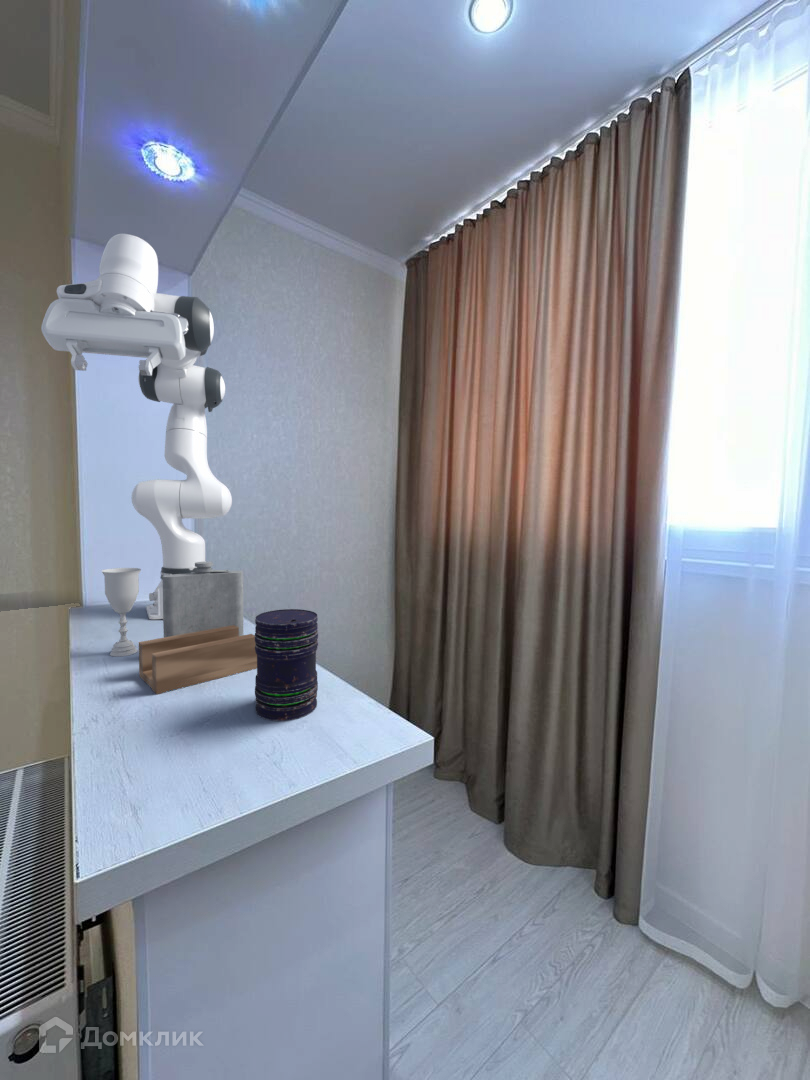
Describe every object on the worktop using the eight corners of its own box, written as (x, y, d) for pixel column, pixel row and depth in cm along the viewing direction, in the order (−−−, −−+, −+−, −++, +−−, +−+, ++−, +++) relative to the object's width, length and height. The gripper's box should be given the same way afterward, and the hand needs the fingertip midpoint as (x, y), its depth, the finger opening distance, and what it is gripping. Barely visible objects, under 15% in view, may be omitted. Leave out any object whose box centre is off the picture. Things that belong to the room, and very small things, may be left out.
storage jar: (246, 702, 71) (246, 613, 70) (303, 688, 77) (303, 606, 76) (267, 728, 63) (267, 628, 62) (328, 710, 69) (329, 618, 68)
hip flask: (164, 661, 89) (162, 565, 87) (162, 655, 92) (161, 562, 91) (245, 649, 98) (244, 561, 96) (240, 644, 101) (240, 559, 100)
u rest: (139, 675, 81) (138, 642, 81) (234, 654, 94) (233, 625, 93) (156, 694, 74) (155, 657, 73) (257, 668, 86) (257, 636, 86)
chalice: (150, 648, 97) (148, 568, 95) (128, 658, 90) (125, 573, 89) (119, 646, 97) (117, 567, 96) (95, 656, 91) (92, 571, 89)
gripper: (192, 330, 80) (187, 388, 75) (64, 317, 75) (48, 379, 70) (185, 300, 75) (178, 361, 70) (45, 284, 70) (27, 348, 64)
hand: (112, 370), depth 70 cm, fingers open, 8 cm apart
